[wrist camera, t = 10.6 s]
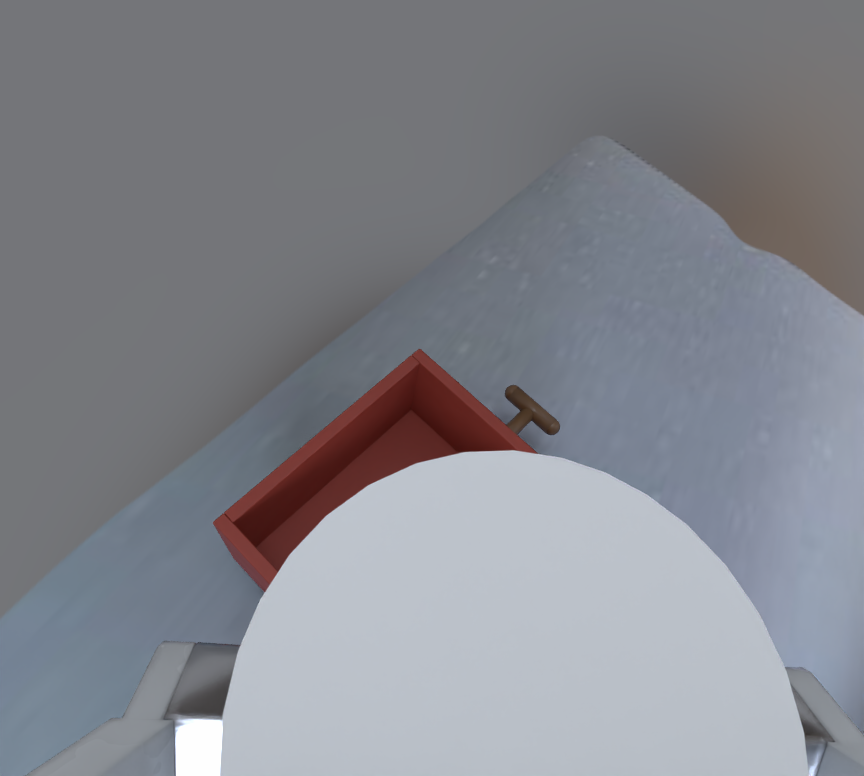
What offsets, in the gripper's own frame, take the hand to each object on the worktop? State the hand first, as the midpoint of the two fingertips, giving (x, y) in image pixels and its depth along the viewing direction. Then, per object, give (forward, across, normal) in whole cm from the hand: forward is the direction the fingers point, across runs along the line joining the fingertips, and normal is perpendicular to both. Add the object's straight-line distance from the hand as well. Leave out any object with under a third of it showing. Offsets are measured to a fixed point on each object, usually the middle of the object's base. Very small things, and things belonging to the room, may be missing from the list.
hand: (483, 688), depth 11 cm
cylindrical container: (+15, 0, +16) cm, 23 cm away
